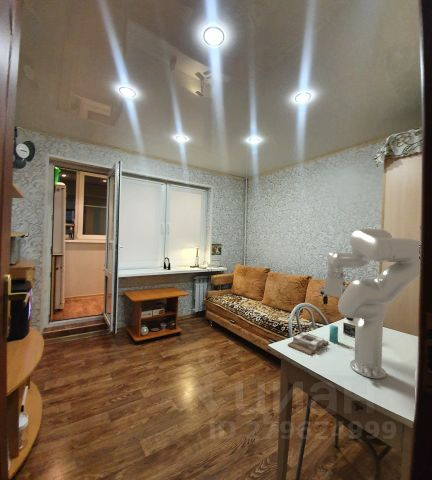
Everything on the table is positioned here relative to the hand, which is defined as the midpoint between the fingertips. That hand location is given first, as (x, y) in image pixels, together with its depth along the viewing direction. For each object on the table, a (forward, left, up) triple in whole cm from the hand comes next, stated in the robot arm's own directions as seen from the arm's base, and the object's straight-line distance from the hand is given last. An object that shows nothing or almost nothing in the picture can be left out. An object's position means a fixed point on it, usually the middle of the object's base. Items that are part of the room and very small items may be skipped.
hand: (334, 306), depth 122 cm
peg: (0, 0, -19) cm, 19 cm away
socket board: (-11, +12, -19) cm, 25 cm away
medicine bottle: (+16, -10, -19) cm, 27 cm away
